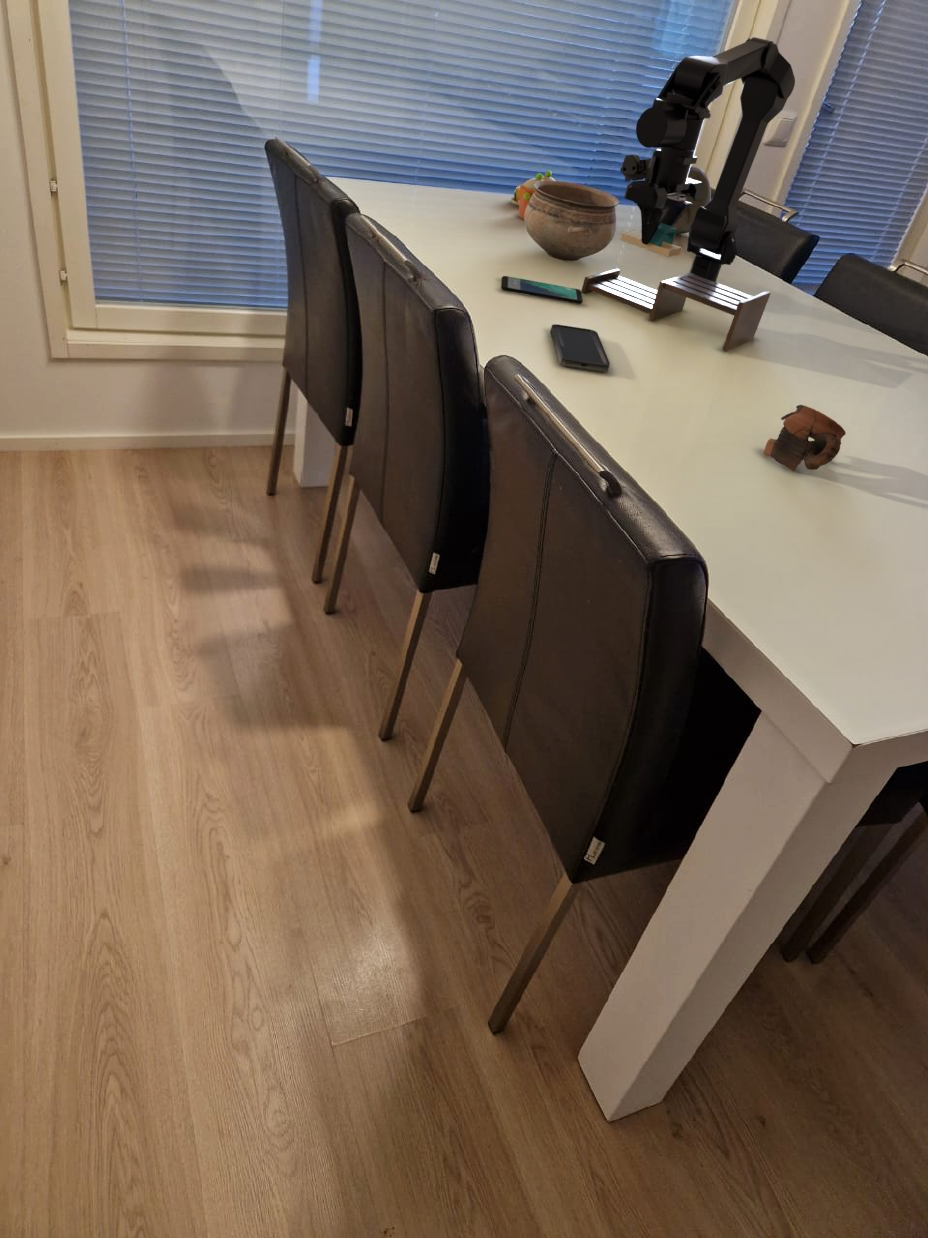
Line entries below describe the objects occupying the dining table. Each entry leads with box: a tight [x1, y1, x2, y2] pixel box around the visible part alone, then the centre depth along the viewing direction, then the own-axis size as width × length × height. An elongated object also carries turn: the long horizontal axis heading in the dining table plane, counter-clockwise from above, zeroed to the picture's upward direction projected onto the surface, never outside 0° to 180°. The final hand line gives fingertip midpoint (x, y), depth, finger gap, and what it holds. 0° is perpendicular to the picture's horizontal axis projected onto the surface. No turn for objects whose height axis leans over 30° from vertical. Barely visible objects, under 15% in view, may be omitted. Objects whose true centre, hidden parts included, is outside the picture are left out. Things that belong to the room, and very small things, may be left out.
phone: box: [549, 323, 611, 373], centre depth 138 cm, size 8×1×15 cm
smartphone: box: [500, 275, 584, 305], centre depth 159 cm, size 7×1×15 cm
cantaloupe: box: [673, 165, 712, 235], centre depth 209 cm, size 14×14×15 cm
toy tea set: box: [510, 170, 556, 220], centre depth 204 cm, size 26×16×10 cm, turn 7°
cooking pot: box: [523, 180, 620, 262], centre depth 177 cm, size 25×19×12 cm
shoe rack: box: [580, 268, 771, 353], centre depth 158 cm, size 12×31×8 cm, turn 51°
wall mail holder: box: [620, 223, 682, 258], centre depth 156 cm, size 5×10×4 cm, turn 51°
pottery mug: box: [762, 404, 847, 472], centre depth 118 cm, size 12×10×8 cm
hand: (651, 242), depth 157 cm, fingers closed on wall mail holder, 5 cm apart
